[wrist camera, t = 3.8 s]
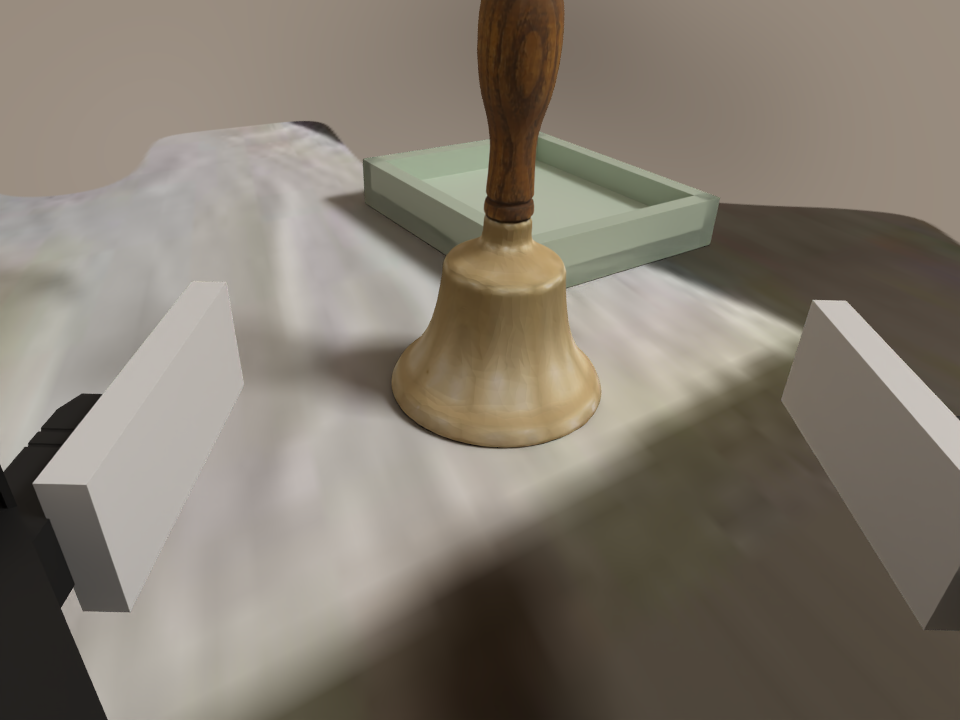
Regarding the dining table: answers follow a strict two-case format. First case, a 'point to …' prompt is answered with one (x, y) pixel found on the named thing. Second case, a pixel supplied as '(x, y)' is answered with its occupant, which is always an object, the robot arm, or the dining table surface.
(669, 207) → the tray
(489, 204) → the hand bell
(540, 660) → the dining table surface
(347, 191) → the dining table surface
